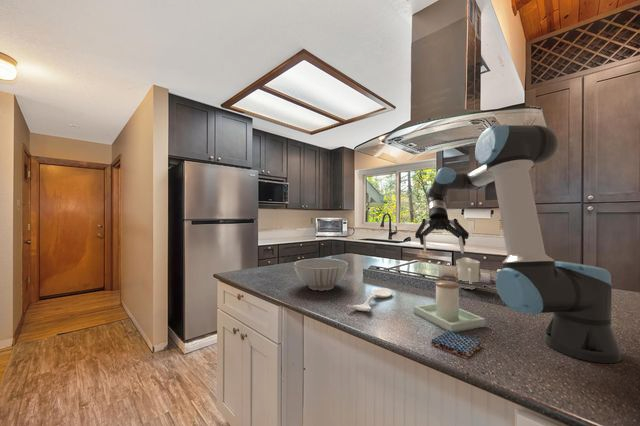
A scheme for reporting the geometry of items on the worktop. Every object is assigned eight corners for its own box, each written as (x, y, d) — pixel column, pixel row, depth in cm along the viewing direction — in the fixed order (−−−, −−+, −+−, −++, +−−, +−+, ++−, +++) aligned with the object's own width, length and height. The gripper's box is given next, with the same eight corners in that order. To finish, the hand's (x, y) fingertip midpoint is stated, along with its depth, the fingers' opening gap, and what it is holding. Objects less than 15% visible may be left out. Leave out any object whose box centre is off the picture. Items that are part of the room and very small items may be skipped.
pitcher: (457, 293, 128) (457, 263, 128) (453, 283, 145) (453, 256, 145) (484, 295, 125) (484, 264, 125) (477, 285, 142) (477, 257, 141)
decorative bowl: (330, 299, 121) (330, 271, 121) (282, 289, 135) (282, 264, 135) (357, 285, 143) (357, 261, 143) (314, 278, 158) (313, 256, 158)
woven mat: (428, 346, 80) (428, 339, 80) (446, 335, 86) (446, 329, 86) (466, 361, 72) (466, 353, 72) (483, 348, 78) (483, 340, 78)
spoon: (346, 313, 105) (345, 304, 105) (376, 292, 132) (376, 284, 132) (368, 318, 100) (368, 308, 100) (395, 294, 127) (395, 287, 127)
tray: (485, 326, 92) (485, 318, 92) (451, 332, 87) (451, 324, 87) (443, 308, 108) (443, 301, 108) (413, 313, 104) (413, 306, 104)
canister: (464, 319, 96) (463, 284, 95) (446, 323, 93) (446, 286, 93) (447, 312, 102) (447, 279, 102) (431, 315, 100) (430, 281, 100)
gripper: (467, 218, 124) (477, 257, 109) (408, 218, 130) (410, 255, 115) (470, 206, 118) (481, 245, 104) (408, 207, 125) (410, 244, 110)
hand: (443, 251), depth 110 cm, fingers open, 13 cm apart
